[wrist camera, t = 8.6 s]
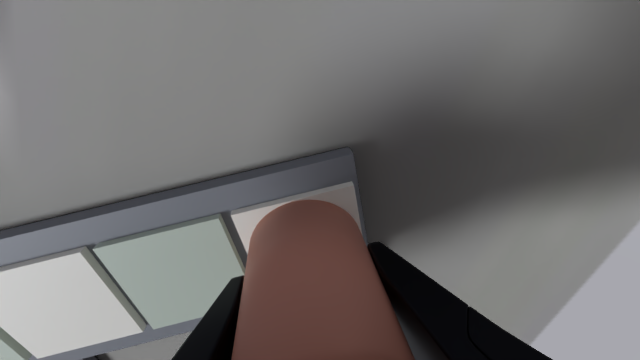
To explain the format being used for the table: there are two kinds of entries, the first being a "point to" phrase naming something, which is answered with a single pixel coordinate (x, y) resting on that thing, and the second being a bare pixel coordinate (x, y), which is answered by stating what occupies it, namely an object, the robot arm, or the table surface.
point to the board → (147, 259)
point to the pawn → (314, 291)
